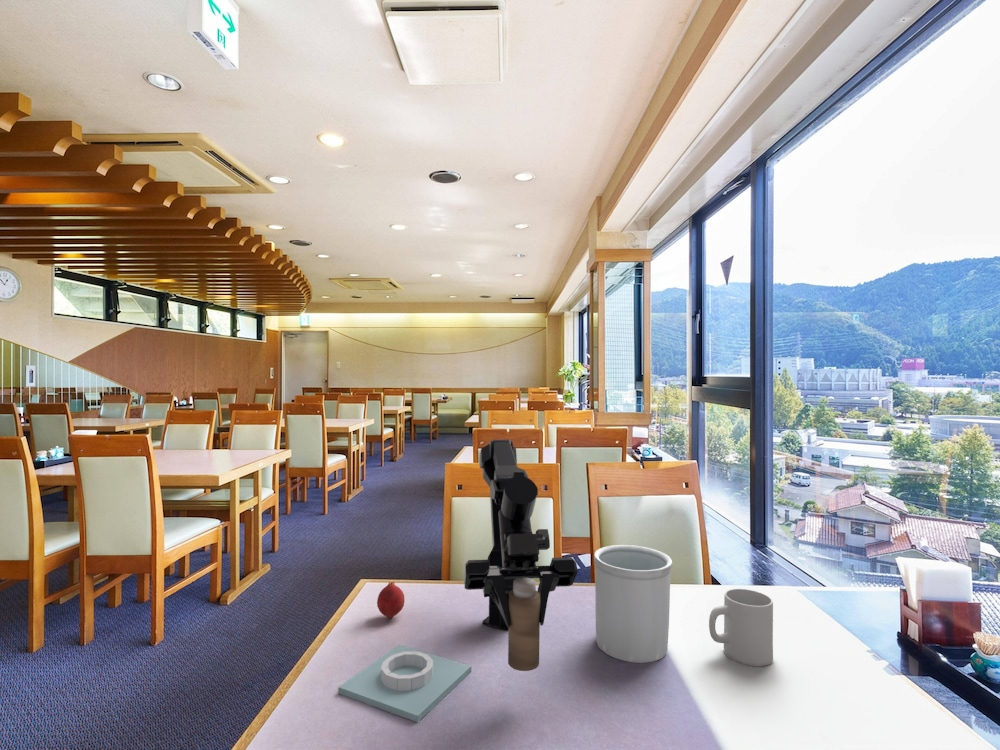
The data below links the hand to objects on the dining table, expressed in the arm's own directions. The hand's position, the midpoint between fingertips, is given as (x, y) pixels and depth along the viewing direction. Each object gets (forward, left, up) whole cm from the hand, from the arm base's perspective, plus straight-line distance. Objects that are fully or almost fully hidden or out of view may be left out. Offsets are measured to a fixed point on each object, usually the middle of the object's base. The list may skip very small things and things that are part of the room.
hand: (525, 625), depth 85 cm
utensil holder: (-28, +10, -13) cm, 33 cm away
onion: (-15, -39, -13) cm, 44 cm away
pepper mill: (-1, -1, -7) cm, 7 cm away
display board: (+3, -21, -13) cm, 25 cm away
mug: (-34, +29, -13) cm, 47 cm away
